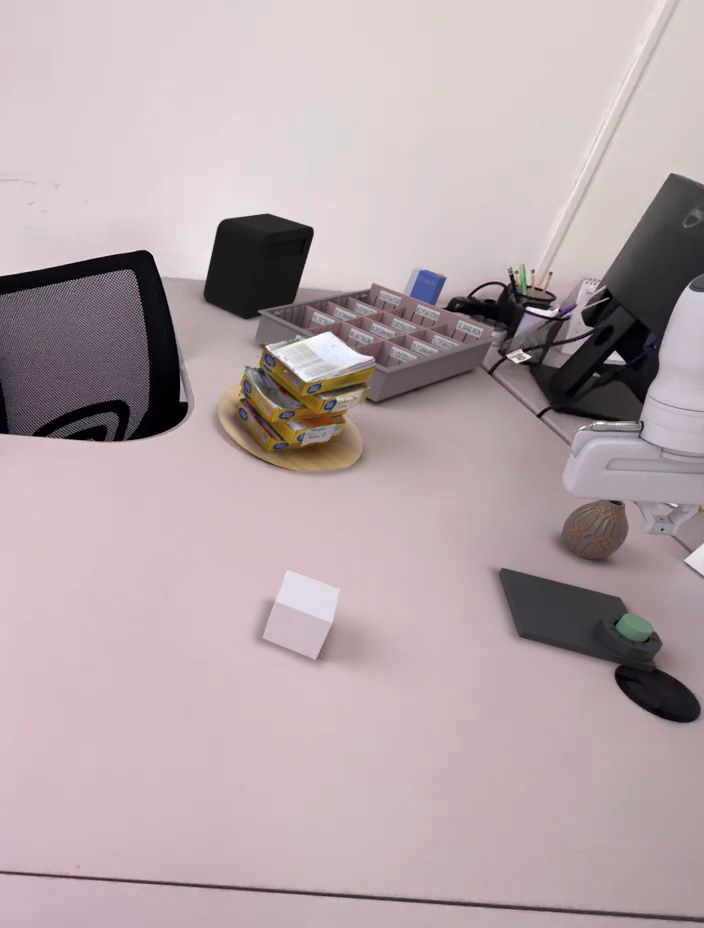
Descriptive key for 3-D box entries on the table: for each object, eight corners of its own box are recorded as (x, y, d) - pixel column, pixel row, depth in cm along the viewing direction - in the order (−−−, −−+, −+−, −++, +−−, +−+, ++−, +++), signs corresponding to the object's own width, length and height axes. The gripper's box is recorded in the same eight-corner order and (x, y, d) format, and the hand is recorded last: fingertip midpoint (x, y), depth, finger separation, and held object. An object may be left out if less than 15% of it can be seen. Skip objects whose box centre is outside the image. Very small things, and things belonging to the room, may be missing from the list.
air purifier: (248, 289, 179) (267, 210, 168) (293, 307, 170) (317, 225, 159) (197, 300, 168) (214, 217, 157) (242, 320, 159) (264, 234, 148)
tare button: (639, 628, 80) (648, 617, 79) (649, 646, 77) (658, 635, 76) (611, 620, 80) (619, 610, 79) (620, 638, 78) (628, 628, 77)
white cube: (323, 626, 79) (340, 589, 75) (315, 660, 74) (332, 623, 71) (272, 606, 81) (287, 569, 77) (261, 639, 76) (276, 601, 73)
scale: (619, 604, 87) (632, 588, 85) (655, 674, 77) (671, 657, 75) (497, 574, 90) (508, 557, 88) (518, 637, 80) (530, 620, 78)
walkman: (428, 323, 170) (447, 276, 163) (420, 324, 169) (440, 276, 162) (402, 311, 175) (420, 265, 168) (395, 312, 174) (413, 266, 167)
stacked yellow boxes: (390, 470, 109) (431, 376, 100) (250, 476, 104) (280, 378, 94) (314, 397, 129) (343, 314, 119) (193, 399, 123) (213, 312, 114)
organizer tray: (248, 345, 147) (259, 301, 141) (358, 319, 167) (372, 280, 161) (373, 411, 126) (393, 362, 121) (483, 372, 146) (504, 329, 141)
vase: (583, 569, 92) (619, 519, 87) (542, 537, 98) (573, 488, 93) (620, 563, 94) (657, 514, 89) (578, 532, 99) (611, 484, 94)
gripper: (584, 431, 73) (558, 539, 80) (836, 437, 66) (784, 555, 72) (568, 410, 79) (544, 512, 85) (800, 413, 71) (755, 524, 78)
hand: (657, 532), depth 79 cm, fingers closed
